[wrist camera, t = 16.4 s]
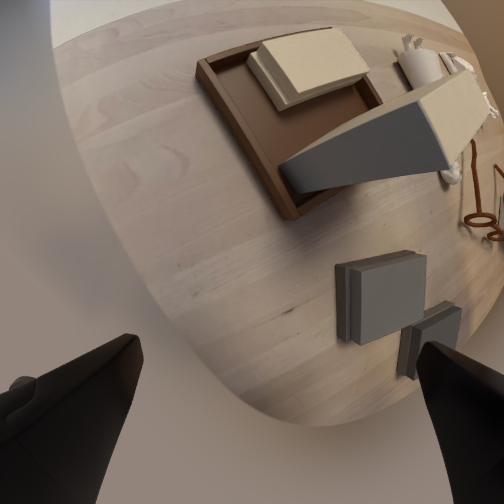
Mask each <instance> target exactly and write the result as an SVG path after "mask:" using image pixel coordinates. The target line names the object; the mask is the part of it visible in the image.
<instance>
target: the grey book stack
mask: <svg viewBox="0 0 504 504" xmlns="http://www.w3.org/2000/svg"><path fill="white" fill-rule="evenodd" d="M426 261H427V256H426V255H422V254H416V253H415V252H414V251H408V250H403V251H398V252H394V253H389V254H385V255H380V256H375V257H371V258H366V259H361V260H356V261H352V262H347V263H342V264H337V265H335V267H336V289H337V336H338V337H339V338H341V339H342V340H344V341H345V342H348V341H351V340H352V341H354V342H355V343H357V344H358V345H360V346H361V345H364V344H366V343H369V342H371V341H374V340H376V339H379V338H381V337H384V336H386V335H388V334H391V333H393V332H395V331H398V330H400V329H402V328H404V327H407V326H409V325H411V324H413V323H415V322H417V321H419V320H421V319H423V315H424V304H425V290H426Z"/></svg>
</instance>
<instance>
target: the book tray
mask: <svg viewBox="0 0 504 504" xmlns="http://www.w3.org/2000/svg"><path fill="white" fill-rule="evenodd" d="M324 29H332V27H328V28H320V29H313V30H307V31H301V32H296V33H291V34H286V35H281V36H277V37H272V38H268V39H264V40H260V41H256V42H253V43H249V44H246V45H242V46H239V47H236V48H233V49H230V50H227V51H224V52H221V53H218V54H215V55H212V56H209V57H207V58H205V59H202V60H199V61H197V67H196V73H195V75H196V77H197V78H198V80H199V81H200V83H201V84H202V86H203V87H204V89H205V90H206V92H207V94H208V95H209V97H210V98H211V100H212V101H213V103H214V104H215V106H216V108H217V109H218V111H219V112H220V114H221V116H222V117H223V119H224V120H225V122H226V124H227V125H228V127H229V128H230V130H231V132H232V133H233V135H234V137H235V138H236V140H237V141H238V143H239V145H240V146H241V148H242V150H243V151H244V153H245V155H246V156H247V158H248V160H249V161H250V163H251V165H252V167H253V168H254V170H255V172H256V173H257V175H258V177H259V178H260V180H261V182H262V184H263V185H264V187H265V189H266V191H267V192H268V194H269V196H270V198H271V199H272V201H273V203H274V205H275V206H276V208H277V210H278V212H279V214H280V215H281V217H282V219H283V220H295V219H297V218H299V217H300V216H302V215H303V214H305V213H306V212H308V211H310V210H311V209H313V208H314V207H316V206H317V205H319V204H320V203H322V202H324V201H325V200H327V199H328V198H330V197H331V196H333V195H335V194H336V193H338V192H339V191H341V190H342V189H344V188H345V187H347V186H349V185H344V186H338V187H333V188H328V189H322V190H317V191H312V192H307V193H302V194H297V193H296V191H295V190H294V188H293V187H292V185H291V184H290V182H289V181H288V180H287V178H286V177H285V175H284V174H283V172H282V171H281V169H280V168H279V166H278V165H280V164H281V163H283V162H285V161H286V160H287V159H289V158H290V157H292V156H293V155H295V154H296V153H298V152H299V151H301V150H302V149H304V148H306V147H307V146H309V145H310V144H312V143H313V142H315V141H316V140H318V139H319V138H321V137H323V136H324V135H326V134H327V133H329V132H330V131H332V130H334V129H335V128H337V127H338V126H340V125H342V124H344V123H346V122H348V121H349V120H351V119H353V118H355V117H357V116H359V115H361V114H363V113H365V112H367V111H369V110H372V109H374V108H376V107H378V106H380V105H382V104H383V102H382V100H381V98H380V97H379V95H378V93H377V92H376V90H375V88H374V87H373V85H372V83H371V82H370V80H369V79H368V77H367V75H364V76H362V77H361V79H360V80H359V81H357V82H356V83H354V84H353V85H349V86H346V87H343V88H340V89H337V90H334V91H331V92H328V93H326V94H323V95H320V96H317V97H315V98H312V99H309V100H307V101H304V102H301V103H299V104H296V105H294V106H291V107H289V108H286V109H284V110H282V111H278V110H277V108H276V106H275V105H274V103H273V102H272V100H271V99H270V97H269V96H268V94H267V93H266V91H265V90H264V88H263V87H262V85H261V84H260V82H259V81H258V79H257V78H256V76H255V75H254V73H253V72H252V71H251V69H250V68H249V66H248V65H247V64H246V61H247V59H248V57H249V55H250V53H252V52H256V51H257V50H258V48H259V47H260V45H261V43H262V42H264V41H267V40H272V39H276V38H280V37H285V36H289V35H294V34H299V33H305V32H311V31H317V30H324Z"/></svg>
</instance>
